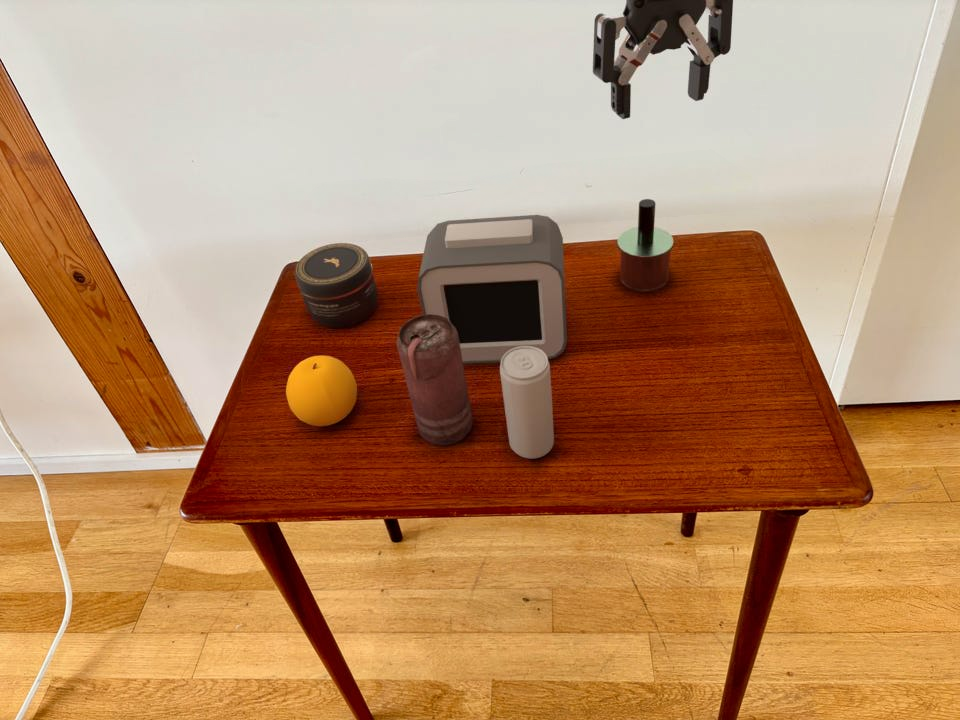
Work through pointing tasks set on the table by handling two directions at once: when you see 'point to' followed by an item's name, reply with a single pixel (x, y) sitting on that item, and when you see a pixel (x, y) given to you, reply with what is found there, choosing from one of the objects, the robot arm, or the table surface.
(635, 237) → the lid
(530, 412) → the beverage can
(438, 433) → the can
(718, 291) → the table surface
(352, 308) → the jar
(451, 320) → the alarm clock
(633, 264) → the pot
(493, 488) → the table surface
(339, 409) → the orange
